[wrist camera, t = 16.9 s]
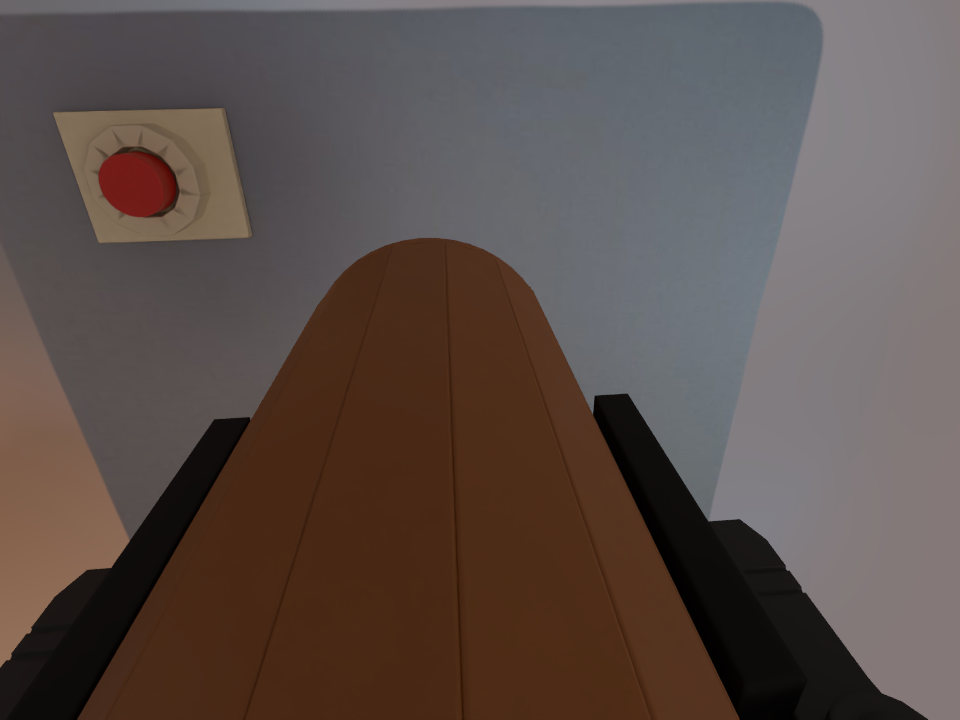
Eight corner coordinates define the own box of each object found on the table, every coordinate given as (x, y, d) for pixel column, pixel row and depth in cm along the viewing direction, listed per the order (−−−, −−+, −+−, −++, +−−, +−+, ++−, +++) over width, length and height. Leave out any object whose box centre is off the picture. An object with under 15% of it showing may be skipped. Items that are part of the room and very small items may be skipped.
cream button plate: (225, 107, 33) (209, 108, 31) (252, 235, 36) (240, 244, 34) (59, 111, 32) (31, 113, 30) (104, 241, 36) (81, 250, 34)
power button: (167, 150, 32) (153, 153, 30) (183, 210, 33) (171, 216, 32) (105, 151, 32) (88, 154, 30) (125, 212, 33) (109, 218, 32)
